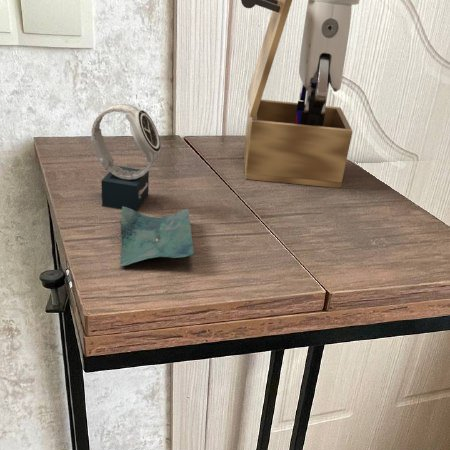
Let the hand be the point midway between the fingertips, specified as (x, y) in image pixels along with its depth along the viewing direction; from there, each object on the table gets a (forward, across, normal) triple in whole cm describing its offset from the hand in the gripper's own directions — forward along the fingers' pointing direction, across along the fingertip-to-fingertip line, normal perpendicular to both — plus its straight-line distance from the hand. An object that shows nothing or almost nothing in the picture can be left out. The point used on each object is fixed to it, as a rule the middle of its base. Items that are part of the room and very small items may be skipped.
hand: (306, 135), depth 90 cm
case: (+5, 0, +2) cm, 5 cm away
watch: (+5, -17, +24) cm, 30 cm away
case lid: (-10, 0, +7) cm, 12 cm away
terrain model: (+5, -28, +19) cm, 34 cm away
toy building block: (+2, +1, 0) cm, 2 cm away
